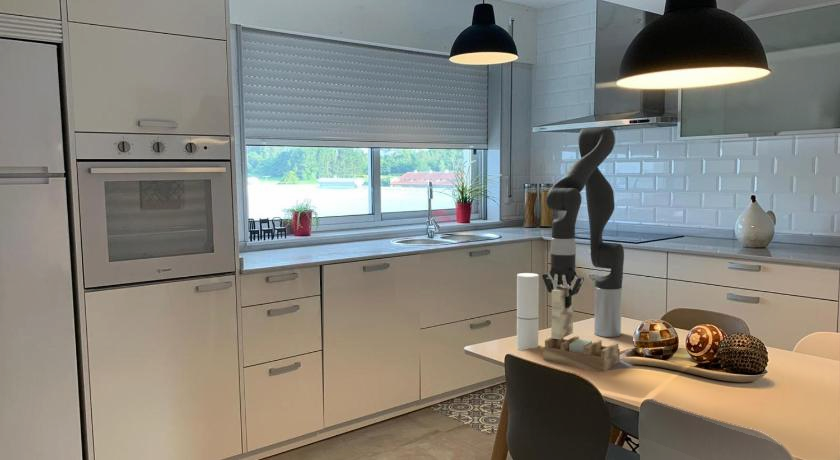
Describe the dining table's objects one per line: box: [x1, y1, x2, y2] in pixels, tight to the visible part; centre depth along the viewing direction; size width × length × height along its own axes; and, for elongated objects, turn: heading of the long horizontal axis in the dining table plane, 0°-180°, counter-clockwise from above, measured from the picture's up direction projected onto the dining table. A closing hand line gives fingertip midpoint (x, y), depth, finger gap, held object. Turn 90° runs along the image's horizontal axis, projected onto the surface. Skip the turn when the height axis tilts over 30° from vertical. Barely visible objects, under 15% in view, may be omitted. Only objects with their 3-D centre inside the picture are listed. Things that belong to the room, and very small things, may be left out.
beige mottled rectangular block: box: [550, 285, 574, 339], centre depth 204 cm, size 9×3×15 cm, turn 141°
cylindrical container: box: [516, 272, 540, 352], centre depth 218 cm, size 7×7×25 cm
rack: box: [542, 335, 621, 373], centre depth 201 cm, size 12×19×7 cm, turn 51°
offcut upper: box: [569, 338, 593, 354], centre depth 201 cm, size 7×5×3 cm, turn 145°
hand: (562, 306), depth 204 cm, fingers closed on beige mottled rectangular block, 2 cm apart
